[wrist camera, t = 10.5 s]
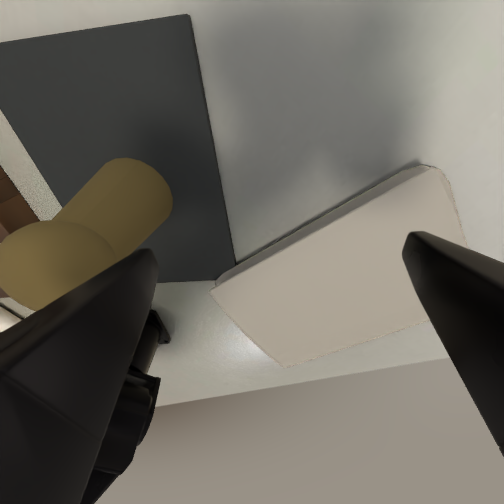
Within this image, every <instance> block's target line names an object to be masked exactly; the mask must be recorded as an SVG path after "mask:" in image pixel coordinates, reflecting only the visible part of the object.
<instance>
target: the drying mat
mask: <svg viewBox="0 0 504 504" xmlns="http://www.w3.org/2000/svg"><path fill="white" fill-rule="evenodd" d="M0 109H1V111H2V112H3V114H4V116H5V117H6V119H7V120H8V122H9V124H10V125H11V127H12V128H13V130H14V131H15V133H16V135H17V136H18V138H19V139H20V141H21V143H22V144H23V146H24V147H25V149H26V151H27V152H28V154H29V155H30V157H31V159H32V160H33V162H34V163H35V165H36V166H37V168H38V170H39V171H40V173H41V174H42V176H43V178H44V179H45V181H46V182H47V184H48V186H49V187H50V189H51V190H52V192H53V194H54V195H55V197H56V198H57V200H58V202H59V203H60V205H61V206H62V208H63V207H64V206H65V205H66V204H67V203H68V202H69V201H70V200H71V199H72V198H73V197H74V196H75V195H76V194H77V193H78V192H79V191H80V190H81V189H82V188H83V186H84V185H85V184H86V183H87V182H88V181H89V180H90V179H91V178H92V177H93V176H94V175H95V174H96V173H97V172H98V171H99V170H100V169H101V168H102V167H103V166H104V164H105V163H107V162H109V161H111V160H113V159H116V158H131V159H135V160H140V161H142V162H144V163H145V164H147V165H149V166H151V167H153V168H154V169H155V170H156V171H157V172H158V173H159V174H160V175H161V176H162V177H163V178H164V180H165V181H166V183H167V184H168V186H169V187H170V191H171V194H172V197H173V207H172V211H171V213H170V215H169V217H168V218H167V219H166V220H165V221H164V222H163V223H162V224H161V225H160V226H159V227H158V228H157V229H156V230H155V231H154V232H153V233H152V234H151V235H150V236H149V237H148V238H147V239H146V240H145V241H144V242H143V243H141V244H140V245H139V246H138V247H137V248H136V249H135V250H134V251H133V252H135V251H136V250H138V249H143V248H150V249H151V250H152V251H153V253H154V255H155V258H156V260H157V262H158V264H159V274H158V279H157V283H166V282H186V281H206V280H217V279H218V278H219V277H220V276H221V275H222V274H223V273H225V272H226V271H228V270H230V269H232V268H233V267H235V266H236V261H235V255H234V250H233V245H232V239H231V234H230V228H229V223H228V218H227V212H226V207H225V201H224V196H223V191H222V185H221V180H220V175H219V169H218V164H217V158H216V153H215V148H214V142H213V137H212V131H211V126H210V121H209V115H208V110H207V104H206V99H205V94H204V88H203V83H202V78H201V72H200V67H199V61H198V56H197V51H196V45H195V40H194V34H193V29H192V24H191V18H190V15H188V14H182V15H176V16H169V17H163V18H156V19H150V20H144V21H137V22H131V23H124V24H118V25H111V26H105V27H98V28H92V29H85V30H79V31H72V32H66V33H59V34H53V35H46V36H40V37H33V38H27V39H20V40H14V41H7V42H1V43H0ZM133 252H132V253H133Z"/></svg>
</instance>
